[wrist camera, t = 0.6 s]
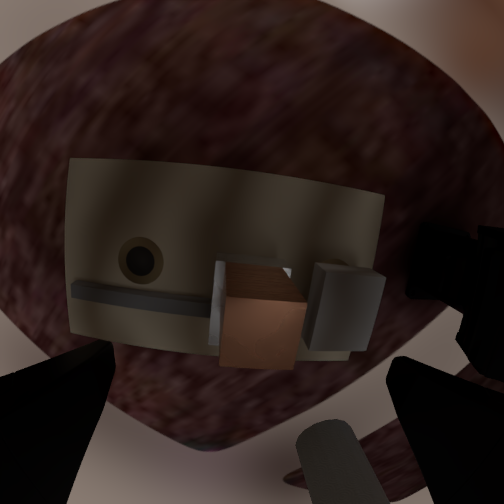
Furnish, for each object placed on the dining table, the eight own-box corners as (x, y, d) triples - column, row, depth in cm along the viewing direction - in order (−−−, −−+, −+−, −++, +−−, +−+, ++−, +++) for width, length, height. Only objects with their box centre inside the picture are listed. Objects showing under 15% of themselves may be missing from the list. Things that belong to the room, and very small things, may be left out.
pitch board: (375, 194, 20) (414, 198, 15) (341, 351, 23) (365, 385, 18) (79, 159, 18) (42, 154, 13) (78, 324, 20) (49, 354, 15)
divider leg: (280, 254, 19) (320, 303, 11) (268, 325, 20) (294, 404, 12) (217, 247, 18) (212, 294, 10) (210, 320, 19) (203, 401, 11)
